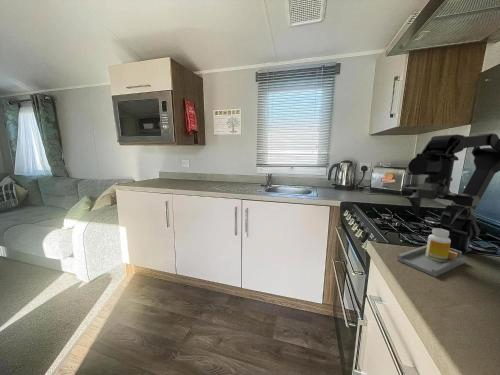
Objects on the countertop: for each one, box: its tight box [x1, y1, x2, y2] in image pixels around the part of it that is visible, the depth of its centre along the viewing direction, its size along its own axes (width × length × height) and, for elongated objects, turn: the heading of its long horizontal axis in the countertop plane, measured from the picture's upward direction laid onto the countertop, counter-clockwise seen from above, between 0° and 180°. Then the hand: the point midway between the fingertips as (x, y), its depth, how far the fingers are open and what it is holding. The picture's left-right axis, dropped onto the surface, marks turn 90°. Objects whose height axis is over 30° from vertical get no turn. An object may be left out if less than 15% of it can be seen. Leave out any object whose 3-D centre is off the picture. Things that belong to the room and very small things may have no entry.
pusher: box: [448, 251, 458, 260], centre depth 68 cm, size 1×7×3 cm, turn 26°
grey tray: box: [396, 244, 466, 278], centre depth 65 cm, size 18×10×3 cm, turn 116°
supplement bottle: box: [426, 227, 451, 262], centre depth 66 cm, size 5×5×10 cm
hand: (432, 220), depth 69 cm, fingers open, 9 cm apart
